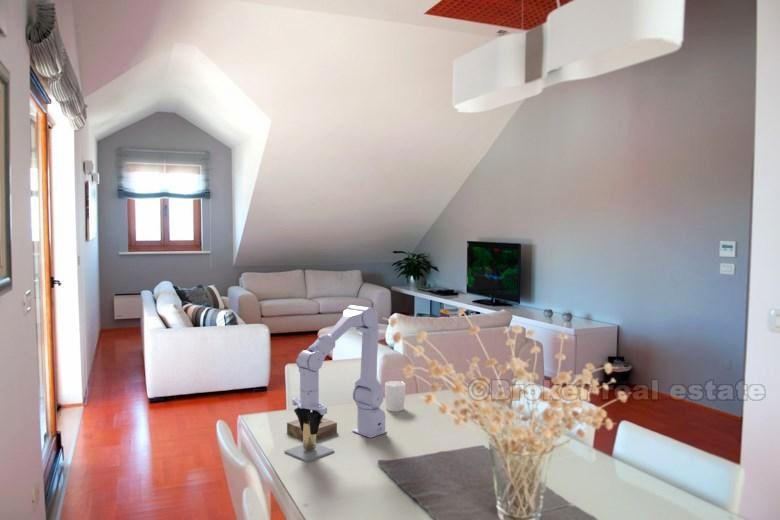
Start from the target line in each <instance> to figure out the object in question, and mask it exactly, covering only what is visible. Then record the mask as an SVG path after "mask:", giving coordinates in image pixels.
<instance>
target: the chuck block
mask: <svg viewBox="0 0 780 520" xmlns="http://www.w3.org/2000/svg"><path fill="white" fill-rule="evenodd" d="M336 432H337V433H338V422H336V421H334V420H330V419H328V418H324V417H322V419H321V422H320V425H319V428H318V432H317V434H316V440H319V439H322V438H324V436H325V437H328V436H330V435H334V434H336ZM286 433H287V434H289V435H291V434H292V435H291V436H294V437H296V436H297V438H300V439H301V440H303V431H302V430H301V426H300V423H299V419H298V418H297V419H295V420H292V421H289V422H286ZM333 433H334V434H333ZM321 437H322V438H321ZM318 438H319V439H318Z"/></svg>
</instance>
